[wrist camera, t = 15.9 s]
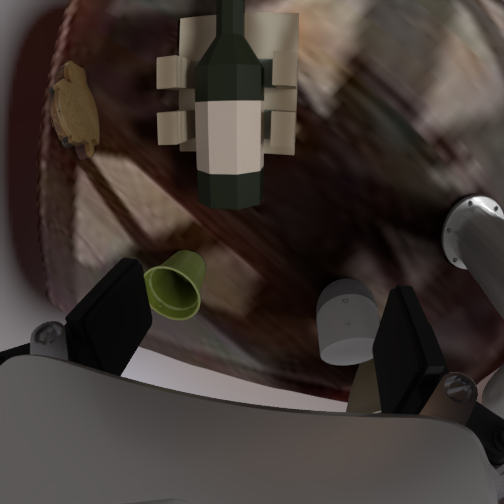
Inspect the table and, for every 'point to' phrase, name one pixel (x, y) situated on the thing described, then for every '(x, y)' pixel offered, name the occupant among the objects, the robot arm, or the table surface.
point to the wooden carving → (74, 110)
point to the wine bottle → (229, 115)
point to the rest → (275, 78)
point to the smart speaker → (346, 322)
